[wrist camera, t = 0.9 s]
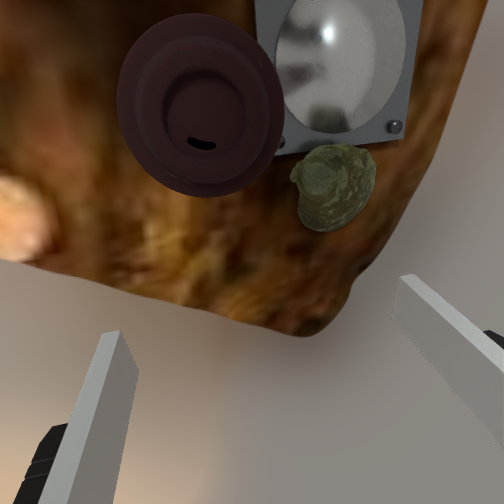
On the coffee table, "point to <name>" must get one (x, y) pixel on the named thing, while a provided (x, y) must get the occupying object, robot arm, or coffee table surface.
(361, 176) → the seashell
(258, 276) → the coffee table surface
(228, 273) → the coffee table surface
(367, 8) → the duct flange
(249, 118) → the coffee cup
